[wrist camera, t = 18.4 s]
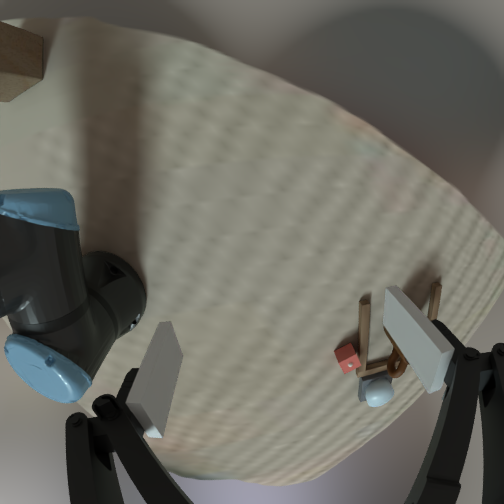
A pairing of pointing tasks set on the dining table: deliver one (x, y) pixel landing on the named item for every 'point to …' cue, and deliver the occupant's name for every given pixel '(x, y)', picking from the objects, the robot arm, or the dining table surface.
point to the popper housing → (368, 379)
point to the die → (347, 358)
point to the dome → (378, 392)
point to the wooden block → (18, 61)
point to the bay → (364, 332)
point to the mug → (393, 358)
